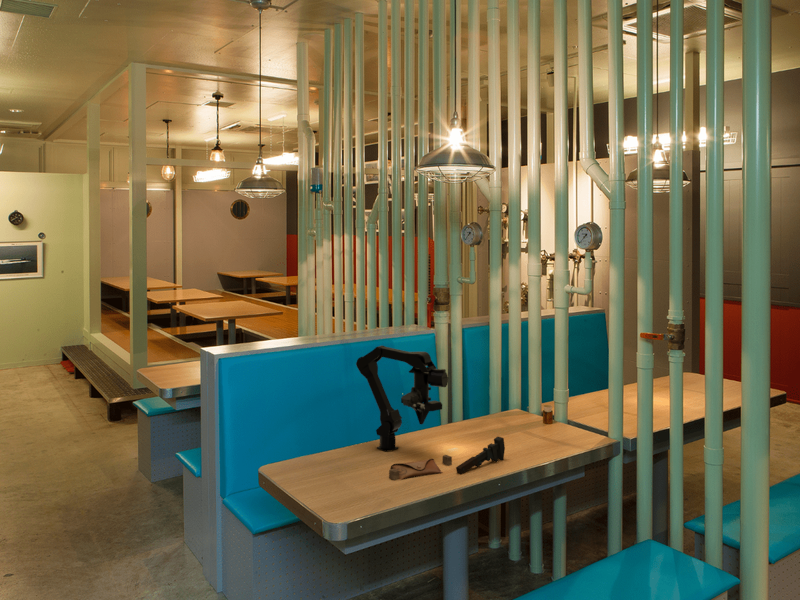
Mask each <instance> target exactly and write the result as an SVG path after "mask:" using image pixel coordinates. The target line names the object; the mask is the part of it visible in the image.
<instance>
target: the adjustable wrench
mask: <svg viewBox="0 0 800 600" xmlns="http://www.w3.org/2000/svg"><path fill="white" fill-rule="evenodd" d="M493 442H494V443H492V442H490V443H489V444H487V447H483V449H482V451H481V452H480V453H478V454H476V455H475V456H471V457H469V459H466V460H465V461H463V462H462V463H460V464H459V465H457V466H456V467H455V468H456V473H457V474H459V475H464V473H466V472H468V471H469V470H471V469H473V468H474V467H475V468H478V467H480V466H482V465H483V463H484V462H486V461H487V462H490V461H491V462H494V461H496V462H495V463H498V462H499V461H504V459H505V458H504V457H505V450H506V447H505V439H504V437H501V436H496V437H494V438H493ZM499 459H500V460H499ZM497 461H498V462H497Z"/></svg>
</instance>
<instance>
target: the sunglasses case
mask: <svg viewBox="0 0 800 600" xmlns="http://www.w3.org/2000/svg"><path fill="white" fill-rule="evenodd" d="M390 469H396V470H398V471H399V479H398V480H400V481H405V480H409V479H411V478H412V479H414V478H420V477H424V476H431V475H438V474H440V475H441V474H443V473H444V472H443V471H441V469H440V468H439V466H438V464H437V463H436V461H435V459H434V458H429V459H424V460H417V461H410V462H401V463H400V462H399V463H394V464H392V465H391V466H390V468H389V470H390Z"/></svg>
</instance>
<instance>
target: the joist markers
mask: <svg viewBox="0 0 800 600" xmlns="http://www.w3.org/2000/svg"><path fill="white" fill-rule="evenodd" d="M441 457H442V461H441V463H442V465H445V466H451V465H453V464H452V463H453V461H452V460H453V459H452V458H453V456H451V455H448V454H444V455H442V456H441ZM388 470H389V471H388V478H389V479H390V480H392V481H398V480H400V479H399V471H398V470H396V469H390V468H389V469H388Z"/></svg>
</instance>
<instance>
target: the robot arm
mask: <svg viewBox="0 0 800 600" xmlns="http://www.w3.org/2000/svg"><path fill="white" fill-rule="evenodd" d="M382 358H386V359H390V360H394V361H398V362H403V363H406V364H407V365H409V366H411V369H410V370H408V373H409V374H413V386H412V387H410V388H411V389H410V391H409V392H408V393H406V394H404V395H402V396H401V398H400V399H401V400H400V403H401V404H402V405H403V406H405V407H407V408H408V407H409V408H411V409H413V411H415V412H414V413H416V417H417V420H418V423H419V425H423V424H424V423H425V420H426V419H427V416H428V414H429V413H430V412H435V411H440V410H443V403H442V402H441V401H439V400H438V401H437V400H432V397H430V396H429V392H430V391H431V390H432V387H436V388H437V387H440V388H446V387H447V386H448V384H449V376H448V375H449V374H448V373H447V369H445V368H441V369H440V368H439V369H438V368H437V366H436V365H435V363H434V362H433V361H432V358H431V355H430V354H429V353H428V352H426V351H408V350H407V351H406V350H403V349H397V348H392V347H388V346H385V345H379V346H376V347H375V348H373V350H371V351H369V352H368V353H367V354H365V355H363V356H360V357H358V358H357V360H356V362H355V365H356V367H357V369H358V371H359V373H360V374H361V375H362V376H363V377H364V378H365V379H366V381H367V383H368V385H369V388H370V391H371V393H372V395H373V397H374V400H375V403H376V405H377V407H378V410H379V421H380V426H378V428H377V429H375V432H376V435H377V436H379V445H377V446H376V448H377V449H378V450H381V451H384V452H390V451H393V450H398V449H399V447H398V446H396V445H397V443H396V433H397V432H398V431H399V429H400V427H401V426H402V423H403V421H402V419H403V417H402V416H401V414H400V410H399V409H397V408H396V409H394V407H392V405H391V403H390V401H389V398H388V396H387V393H386V391H385V388H384V386H383V384H382V381H381V379H380V377H379V373H378V372H379V366H378V362H379V361H380V360H381V359H382Z"/></svg>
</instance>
